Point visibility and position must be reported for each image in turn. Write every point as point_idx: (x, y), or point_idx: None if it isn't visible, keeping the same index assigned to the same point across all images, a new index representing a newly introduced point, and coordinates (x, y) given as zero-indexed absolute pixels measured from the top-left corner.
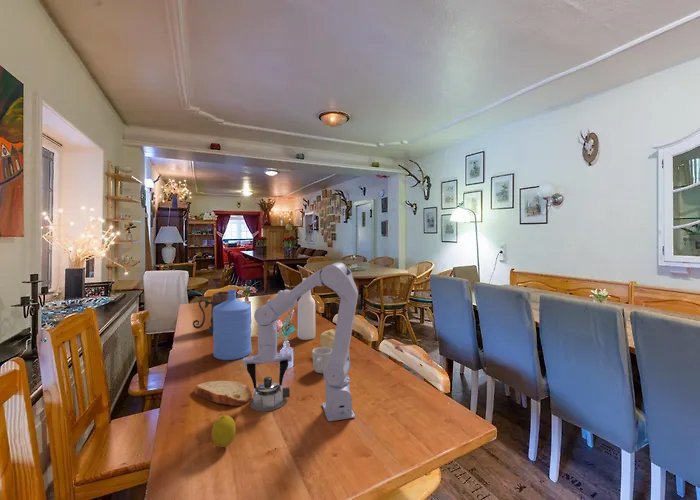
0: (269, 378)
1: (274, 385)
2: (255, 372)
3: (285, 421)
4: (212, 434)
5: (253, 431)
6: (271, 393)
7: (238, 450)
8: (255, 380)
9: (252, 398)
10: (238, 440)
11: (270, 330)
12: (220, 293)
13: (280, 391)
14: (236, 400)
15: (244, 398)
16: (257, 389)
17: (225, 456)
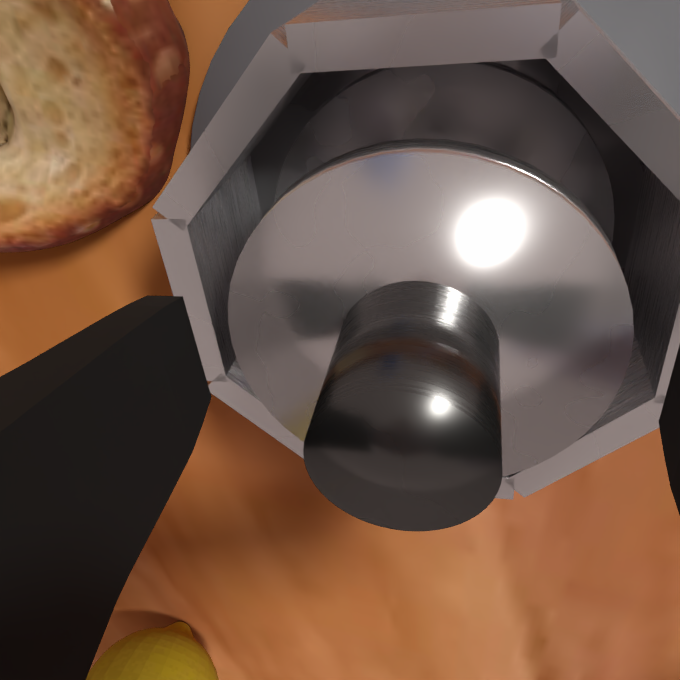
0: (440, 470)
1: (554, 363)
2: (13, 599)
3: (586, 563)
4: None
5: (327, 578)
6: (497, 121)
7: (270, 661)
8: (138, 551)
9: (200, 97)
10: (248, 610)
11: None
12: None
13: (638, 434)
14: (16, 248)
15: (90, 144)
16: (229, 171)
17: (217, 669)
